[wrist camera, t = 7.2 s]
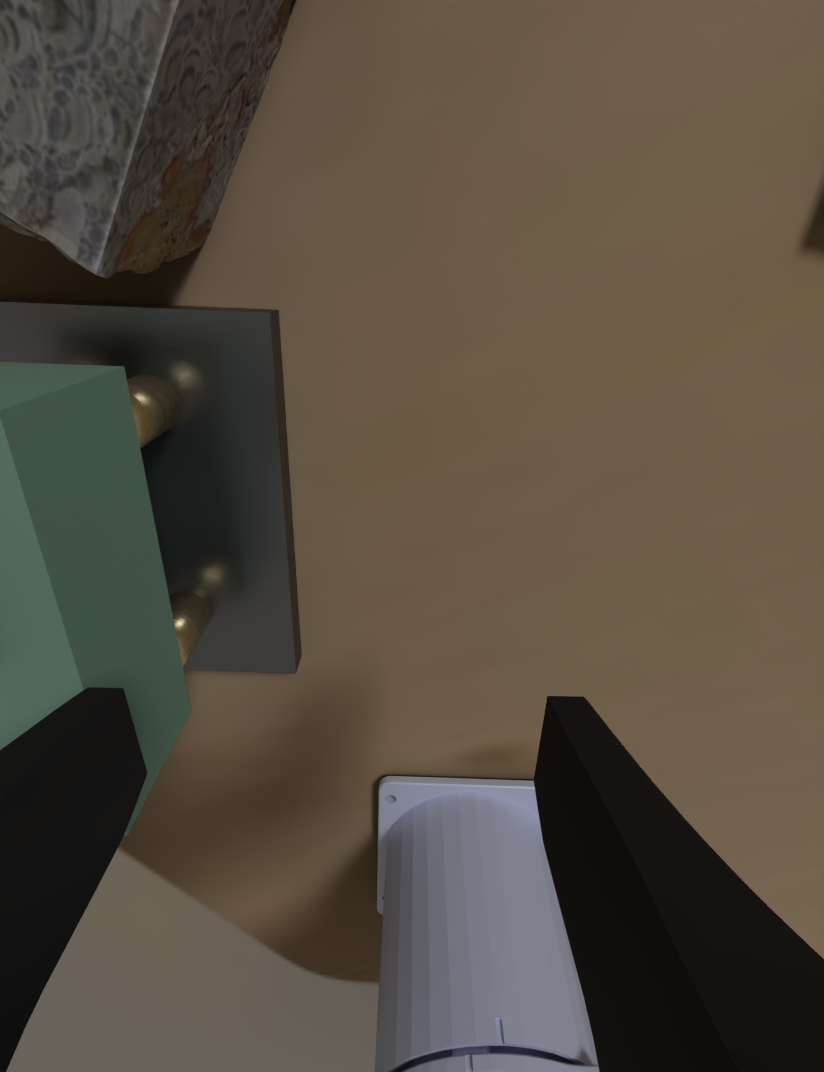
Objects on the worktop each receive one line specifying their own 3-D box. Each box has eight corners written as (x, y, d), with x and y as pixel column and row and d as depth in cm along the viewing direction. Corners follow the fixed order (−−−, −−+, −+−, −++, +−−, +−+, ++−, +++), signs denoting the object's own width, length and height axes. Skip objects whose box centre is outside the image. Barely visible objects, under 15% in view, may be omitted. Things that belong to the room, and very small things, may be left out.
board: (191, 710, 16) (115, 860, 12) (24, 704, 16) (-110, 853, 12) (124, 366, 12) (-31, 421, 8) (-107, 357, 12) (-385, 408, 8)
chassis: (301, 655, 20) (276, 738, 17) (33, 645, 20) (-49, 727, 17) (278, 309, 15) (234, 324, 12) (-86, 294, 15) (-244, 304, 11)
